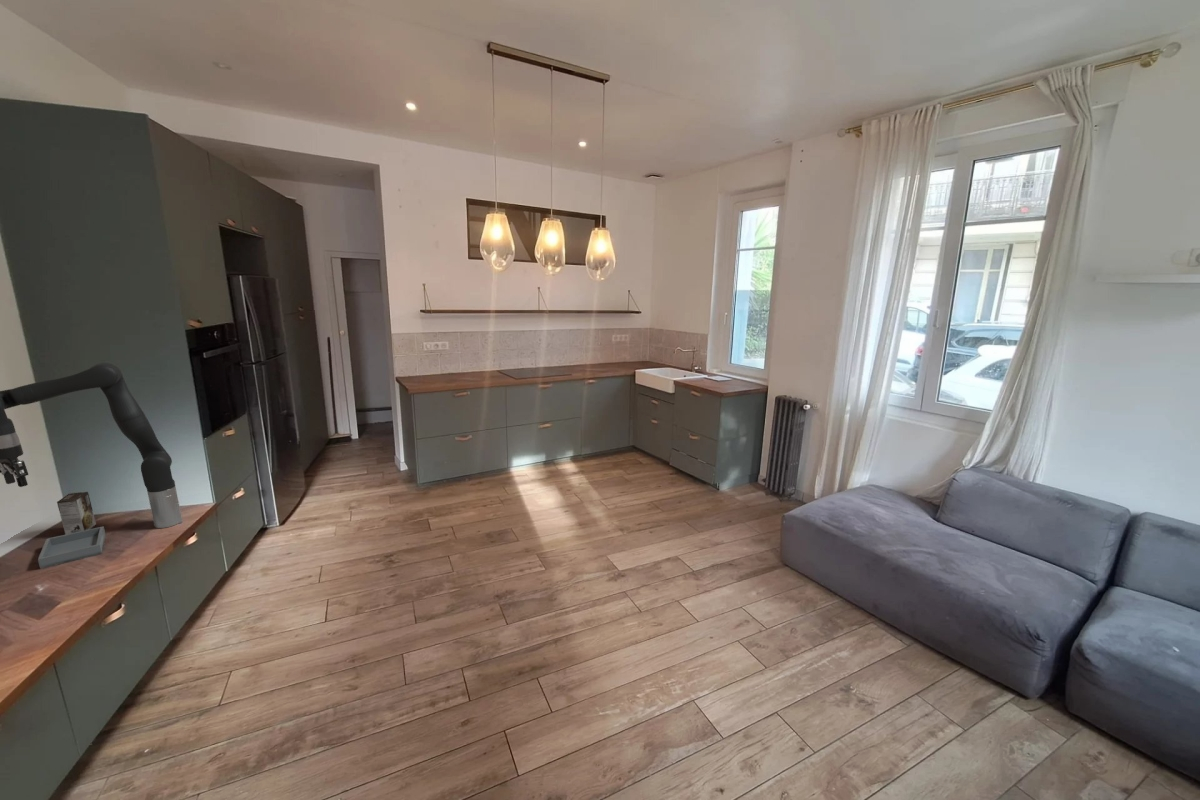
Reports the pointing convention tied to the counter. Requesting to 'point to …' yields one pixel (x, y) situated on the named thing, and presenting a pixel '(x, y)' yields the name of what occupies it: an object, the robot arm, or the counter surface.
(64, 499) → the coffee box
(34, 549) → the counter surface
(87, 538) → the box
